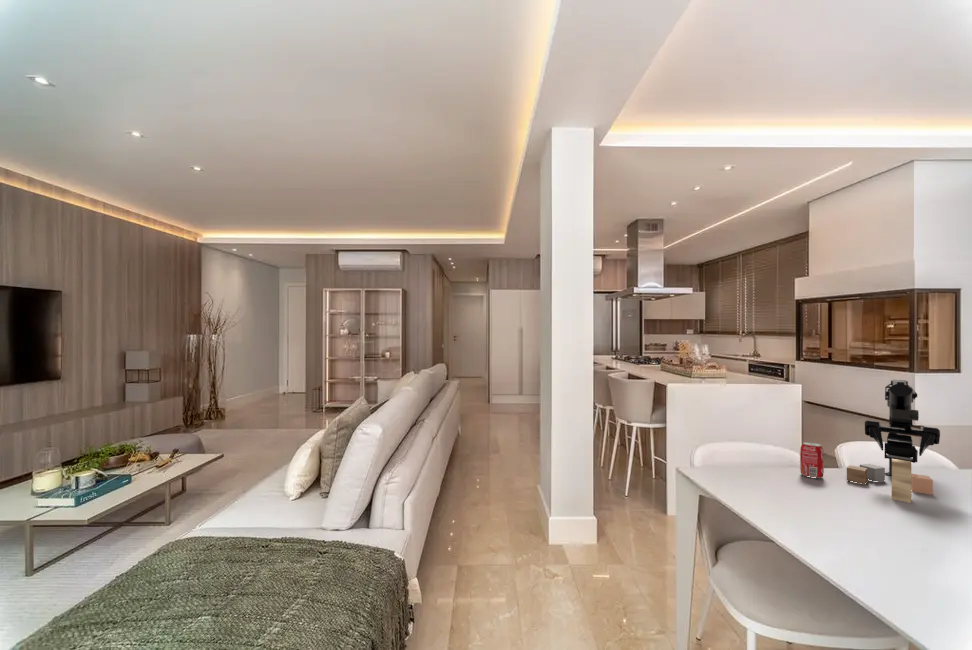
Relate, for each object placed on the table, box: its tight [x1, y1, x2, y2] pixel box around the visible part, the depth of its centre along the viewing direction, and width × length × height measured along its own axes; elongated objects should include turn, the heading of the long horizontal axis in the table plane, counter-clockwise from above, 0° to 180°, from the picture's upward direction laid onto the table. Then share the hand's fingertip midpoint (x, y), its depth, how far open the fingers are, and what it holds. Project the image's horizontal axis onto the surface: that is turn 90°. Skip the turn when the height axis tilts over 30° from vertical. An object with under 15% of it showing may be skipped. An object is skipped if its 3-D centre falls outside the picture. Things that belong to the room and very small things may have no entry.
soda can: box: [799, 441, 825, 479], centre depth 164 cm, size 7×7×12 cm
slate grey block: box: [859, 463, 886, 481], centre depth 162 cm, size 5×5×5 cm
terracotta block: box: [911, 473, 934, 496], centre depth 151 cm, size 5×5×5 cm
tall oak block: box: [891, 459, 912, 504], centre depth 143 cm, size 4×4×12 cm
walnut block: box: [846, 464, 869, 485], centre depth 159 cm, size 5×5×5 cm
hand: (900, 452), depth 148 cm, fingers open, 9 cm apart
